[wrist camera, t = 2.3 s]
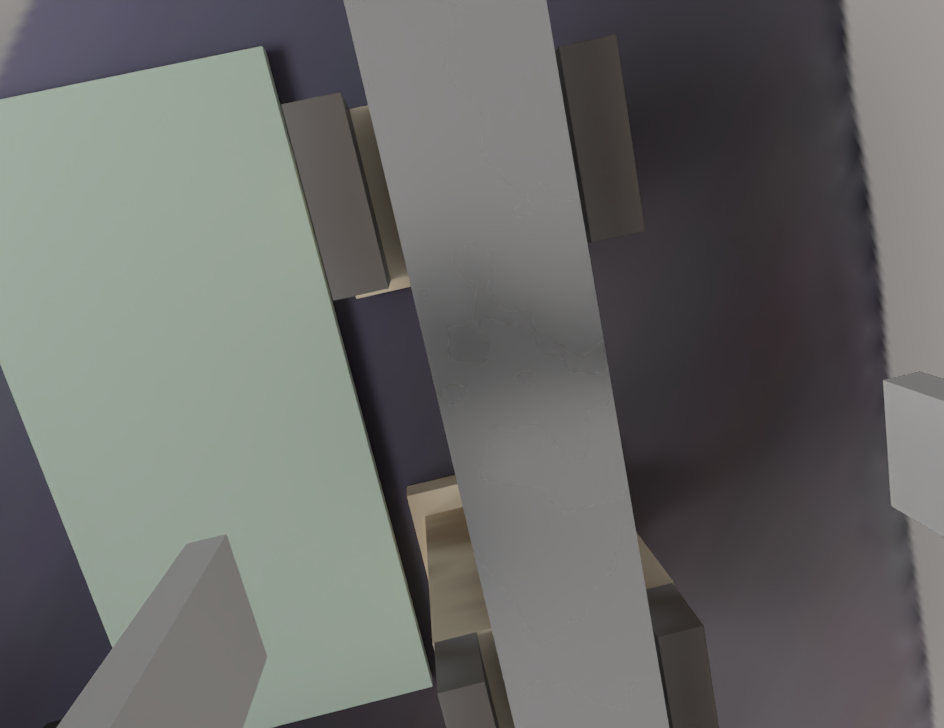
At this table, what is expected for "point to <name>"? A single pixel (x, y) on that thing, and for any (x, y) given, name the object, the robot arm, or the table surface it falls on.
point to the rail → (515, 347)
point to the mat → (198, 370)
